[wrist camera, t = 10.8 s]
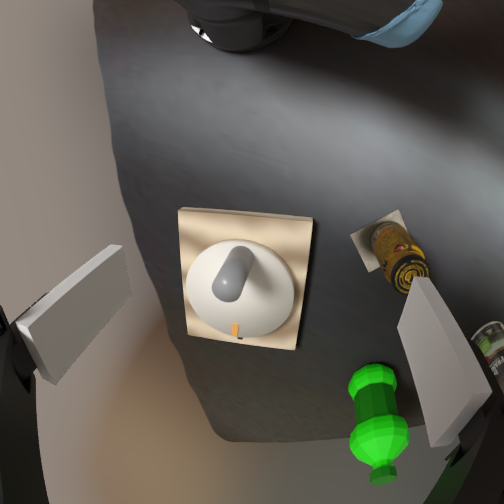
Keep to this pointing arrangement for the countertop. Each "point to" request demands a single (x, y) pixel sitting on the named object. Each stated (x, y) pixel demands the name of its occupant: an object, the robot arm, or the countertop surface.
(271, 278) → the dial
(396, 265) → the condiment
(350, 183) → the countertop surface
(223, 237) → the dial panel
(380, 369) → the plastic bottle
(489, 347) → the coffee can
